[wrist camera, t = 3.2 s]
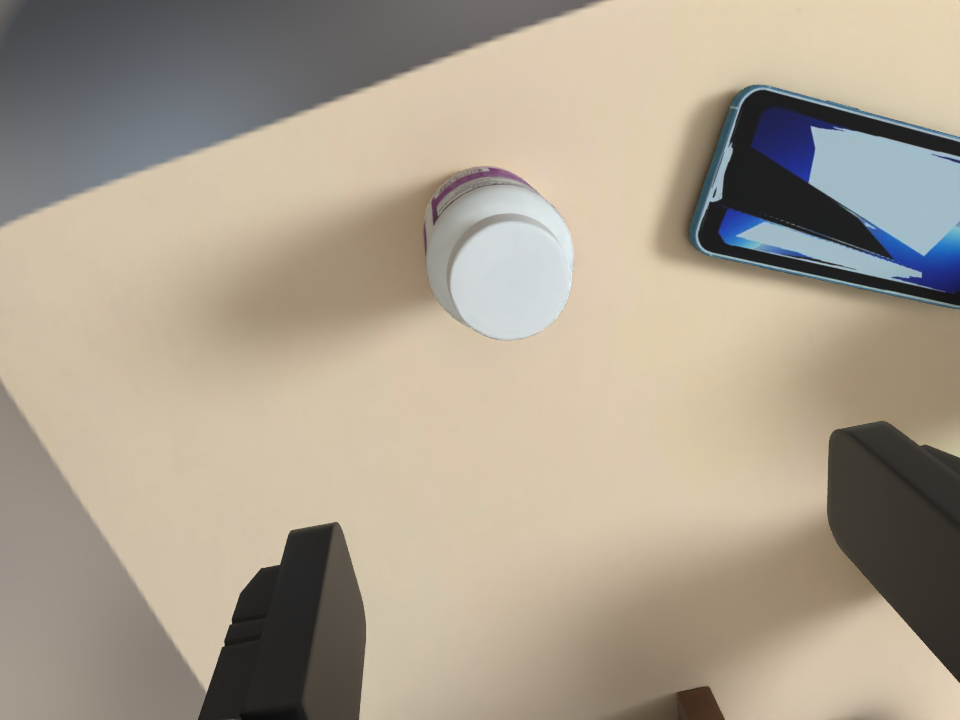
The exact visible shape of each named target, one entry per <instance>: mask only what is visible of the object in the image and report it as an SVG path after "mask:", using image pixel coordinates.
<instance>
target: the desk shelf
mask: <svg viewBox="0 0 960 720" xmlns="http://www.w3.org/2000/svg"><path fill="white" fill-rule="evenodd" d="M677 696H678V709H679V720H725V719H724V717H723V715H722V712H721V710H720V708H719V706H718V704H717V702H716V700H715V698H714V696H713V694H712V692H711V689H710V688H709V687H704V688H699V689H694V690H689V691H684V692H679V693H677Z"/></svg>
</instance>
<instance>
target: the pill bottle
mask: <svg viewBox="0 0 960 720" xmlns="http://www.w3.org/2000/svg"><path fill="white" fill-rule="evenodd" d="M423 235H424V246H425V258H426V272H427V278H428V281H429V284H430V287H431V290H432V292H433V294H434V296H435V297H436V299H437V300H438V302H439V303H440V305H441V306H442V307H443V308H444V309H445V310H446V312H447V313H449V314H450V315H451V316H452V317H453V318H454V319H456V320H457V321H459V322H460V323H462V324H464V325H466V326H468V327H470V328H472V329H474V330H475V331H476V332H478V333H480V334H482V335H484V336H487V337H489V338H493V339H497V340H518V339H523V338H527V337H529V336H532V335H535V334H537V333H539V332H540V331H542V330H543V329H545V328H546V327H547V326H549V325H550V324H551V323H552V322H553V321H554V320H555V319H556V318H557V316H558V315H559V314H560V312H561V310H562V309H563V307H564V306H565V304H566V301H567V299H568V296H569V292H570V287H571V276H572V272H573V265H574V250H573V243H572V239H571V236H570V233H569V230H568V228H567V225H566V223H565V221H564V219H563V217H562V216H561V215H560V213H559V212H558V211H557V210H556V209H555V207H554V206H553V205H551V204H550V203H549V202H548V201H547V200H546V199H545V198H544V197H542V196H541V195H540V194H539V193H538V192H537V191H536V190H535V189H534V188H532V187H531V186H530V185H529V184H528V183H527V182H525V181H524V180H523V179H522V178H520V177H519V176H517V175H516V174H514V173H512V172H510V171H508V170H505V169H502V168H497V167H491V166H480V167H473V168H469V169H465V170H463V171H460V172H458V173H456V174H455V175H453V176H451V177H450V178H449V179H448V180H446V181H445V182H444V183H443V184H442V185H441V186H440V187H439V188H438V189H437V190H436V192H435V193H434V195H433V196H432V198H431V200H430V201H429V204H428V206H427V209H426V212H425V216H424V224H423Z"/></svg>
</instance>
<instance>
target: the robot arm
mask: <svg viewBox="0 0 960 720" xmlns="http://www.w3.org/2000/svg"><path fill="white" fill-rule="evenodd" d="M827 515H828V521H829V525H830V528H831V531H832V534H833V536H834V538H835V540H836V542H837V544H838V545H839V547H840V548H841V550H842V551H843V552H844V553H845V554H846V555H847V557H848V558H849V559H850V560H851V561H852V562H853V563H854V564H855V566H856V567H857V568H858V569H859V570H860V571H861V572H862V573H863V575H864V576H865V577H866V578H867V579H868V580H869V581H870V582H871V584H872V585H873V586H874V587H875V588H876V589H877V590H878V591H879V593H880V594H881V595H882V596H883V597H884V598H885V599H886V600H887V602H888V603H889V604H890V605H891V606H892V607H893V608H894V609H895V611H896V612H897V613H898V614H899V615H900V616H901V617H902V618H903V620H904V621H905V622H906V623H907V624H908V625H909V626H910V627H911V629H912V630H913V631H914V632H915V633H916V634H917V635H918V636H919V638H920V639H921V640H922V641H923V642H924V643H925V644H926V645H927V647H928V648H929V649H930V650H931V651H932V652H933V653H934V655H935V656H936V657H937V658H938V659H939V660H940V661H941V662H942V664H943V665H944V666H945V667H946V668H947V669H948V670H949V671H950V673H951V674H952V675H953V676H954V677H955V678H956V679H957V680H958V682H959V683H960V458H958V457H956V456H953V455H951V454H948V453H946V452H943V451H941V450H938V449H935V448H933V447H930V446H928V445H922V446H919V445H918V444H916V443H915V442H914V441H912V440H911V439H910V438H908V437H907V436H906V435H904V434H903V433H902V432H900V431H899V430H898V429H896V428H895V427H894V426H892V425H891V424H889V423H888V422H885V421H879V422H874V423H868V424H863V425H858V426H852V427H847V428H842V429H837V430H835V431H833V432H832V434H831V436H830V440H829V456H828V495H827ZM224 642H225V647H222V650H221V653H220V656H219V658H218V661H217V664H216V667H215V670H214V673H213V676H212V679H211V682H210V685H209V688H208V691H207V694H206V697H205V700H204V703H203V706H202V709H201V712H200V715H199V718H198V720H359V712H360V701H361V689H362V678H363V667H364V655H365V644H366V621H365V612H364V606H363V601H362V597H361V593H360V590H359V586H358V583H357V579H356V576H355V572H354V569H353V565H352V562H351V558H350V555H349V551H348V548H347V544H346V541H345V538H344V534H343V531H342V529H341V526H340V525H339V523H338V522H334V523H328V524H323V525H318V526H312V527H307V528H302V529H296V530H292V531H290V533H289V535H288V538H287V542H286V546H285V549H284V553H283V557H282V560H281V564H280V565H277V566H272V567H266V568H261V569H260V570H259V572H258V573H257V574H256V575H255V576H254V578H253V579H252V580H251V581H250V582H249V584H248V585H247V586H246V587H245V588H244V590H243V591H242V592H241V593H240V596H239V599H238V602H237V605H236V608H235V611H234V614H233V617H232V625H230V626H229V629H228V632H227V635H226V638H225V641H224Z"/></svg>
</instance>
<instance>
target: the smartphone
mask: <svg viewBox="0 0 960 720" xmlns="http://www.w3.org/2000/svg"><path fill="white" fill-rule="evenodd" d="M689 238H690V241H691V243H692V245H693V246H694V247H695V248H696V249H697V250H699V251H700V252H702V253H704V254H706V255H709V256H713V257H717V258H722V259H727V260H731V261H736V262H740V263H745V264H750V265H754V266H759V267H762V268H766V269H771V270H775V271H782V272H785V273H789V274H794V275H798V276H805V277H810V278H814V279H819V280H823V281H828V282H833V283H837V284H842V285H846V286H851V287H856V288H860V289H865V290H869V291H874V292H879V293H883V294H888V295H892V296H897V297H902V298H906V299H911V300H915V301H920V302H925V303H929V304H934V305H939V306H943V307H948V308H952V309H960V137H957V136H953V135H949V134H946V133H942V132H938V131H935V130H931V129H927V128H923V127H920V126H916V125H912V124H909V123H905V122H901V121H897V120H894V119H890V118H886V117H883V116H879V115H875V114H871V113H868V112H864V111H860V110H859V109H856V108H853V107H849V106H845V105H842V104H838V103H834V102H830V101H823V100H819V99H816V98H812V97H808V96H805V95H801V94H797V93H793V92H790V91H786V90H782V89H779V88H775V87H771V86H766V85H752V86H748V87H746V88H744V89H743V90H741V91H740V92H739V93H738V94H737V95H736V96H735V97H734V99H733V101H732V102H731V105H730V108H729V111H728V114H727V116H726V119H725V122H724V125H723V128H722V131H721V134H720V137H719V140H718V143H717V146H716V149H715V152H714V155H713V158H712V161H711V164H710V167H709V170H708V173H707V176H706V179H705V182H704V185H703V188H702V191H701V194H700V197H699V200H698V203H697V206H696V209H695V212H694V215H693V218H692V221H691V224H690V227H689Z"/></svg>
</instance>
